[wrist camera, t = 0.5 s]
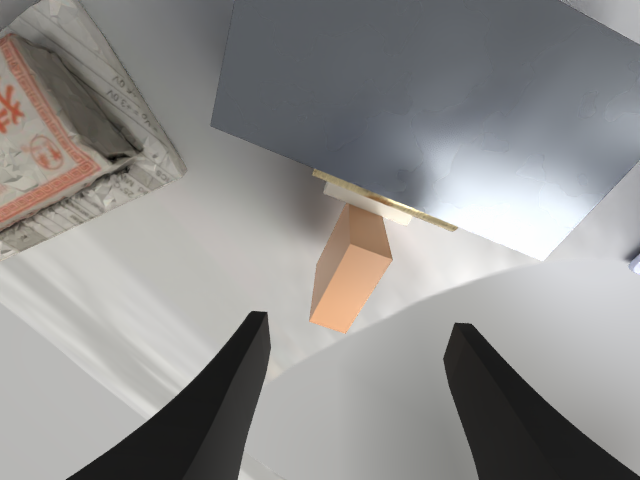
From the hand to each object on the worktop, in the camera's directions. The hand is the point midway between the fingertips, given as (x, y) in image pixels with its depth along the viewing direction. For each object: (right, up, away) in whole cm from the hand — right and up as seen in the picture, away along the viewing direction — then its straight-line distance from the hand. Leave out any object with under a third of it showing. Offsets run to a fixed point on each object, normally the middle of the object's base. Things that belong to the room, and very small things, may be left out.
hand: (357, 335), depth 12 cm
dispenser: (+3, +11, +4) cm, 13 cm away
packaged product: (-20, +9, +8) cm, 23 cm away
